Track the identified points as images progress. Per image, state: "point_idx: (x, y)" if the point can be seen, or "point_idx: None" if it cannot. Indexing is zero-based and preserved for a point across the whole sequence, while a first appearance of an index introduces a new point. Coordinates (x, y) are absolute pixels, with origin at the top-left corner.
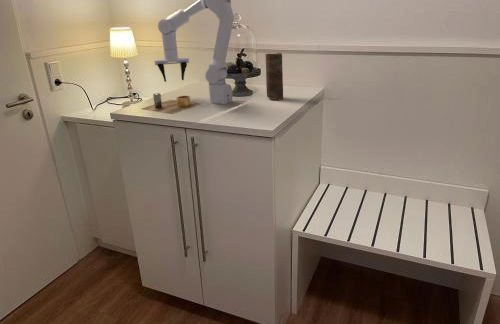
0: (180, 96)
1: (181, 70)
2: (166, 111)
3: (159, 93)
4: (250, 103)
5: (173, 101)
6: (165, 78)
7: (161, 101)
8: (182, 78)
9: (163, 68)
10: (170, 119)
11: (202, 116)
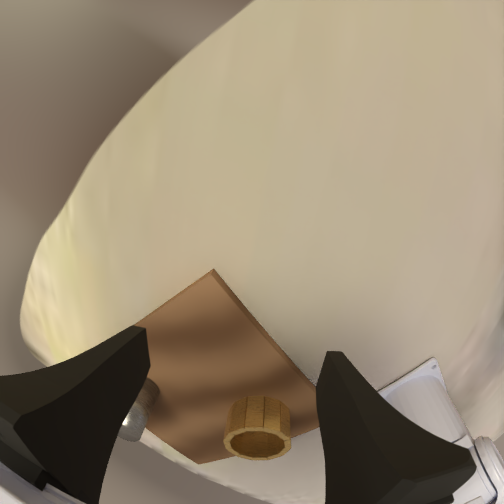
0: (247, 430)
1: (340, 457)
2: (179, 442)
3: (133, 429)
4: (468, 413)
5: (221, 332)
6: (136, 392)
7: (152, 409)
8: (319, 405)
9: (92, 486)
10: (192, 468)
11: (284, 480)
